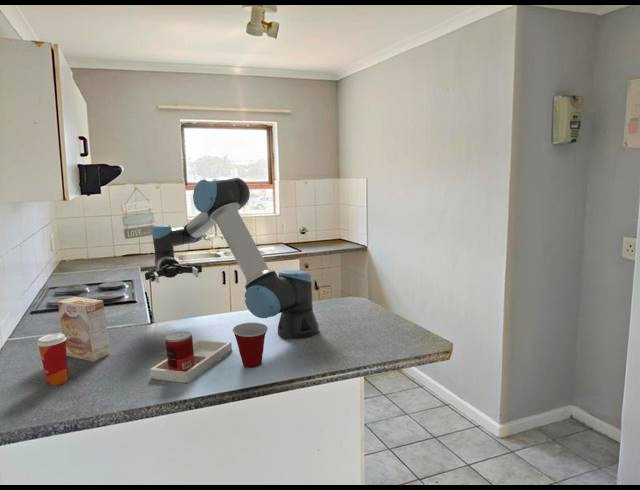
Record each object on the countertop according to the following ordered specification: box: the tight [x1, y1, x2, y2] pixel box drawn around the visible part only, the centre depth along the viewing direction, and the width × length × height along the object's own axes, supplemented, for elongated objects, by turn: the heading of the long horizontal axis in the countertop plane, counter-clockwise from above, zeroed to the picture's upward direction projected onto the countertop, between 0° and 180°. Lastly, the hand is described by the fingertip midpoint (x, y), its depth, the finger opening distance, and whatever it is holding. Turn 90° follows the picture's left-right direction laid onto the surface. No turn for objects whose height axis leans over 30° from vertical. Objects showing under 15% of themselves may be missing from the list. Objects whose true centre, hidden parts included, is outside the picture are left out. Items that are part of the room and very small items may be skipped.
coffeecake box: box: [57, 296, 111, 362], centre depth 160 cm, size 15×7×20 cm, turn 62°
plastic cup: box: [232, 322, 269, 369], centre depth 145 cm, size 11×11×12 cm
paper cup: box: [36, 333, 69, 387], centre depth 140 cm, size 8×8×14 cm
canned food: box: [164, 330, 195, 372], centre depth 142 cm, size 8×8×11 cm
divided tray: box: [149, 338, 233, 384], centre depth 149 cm, size 25×13×3 cm, turn 160°
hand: (177, 276), depth 165 cm, fingers open, 13 cm apart
